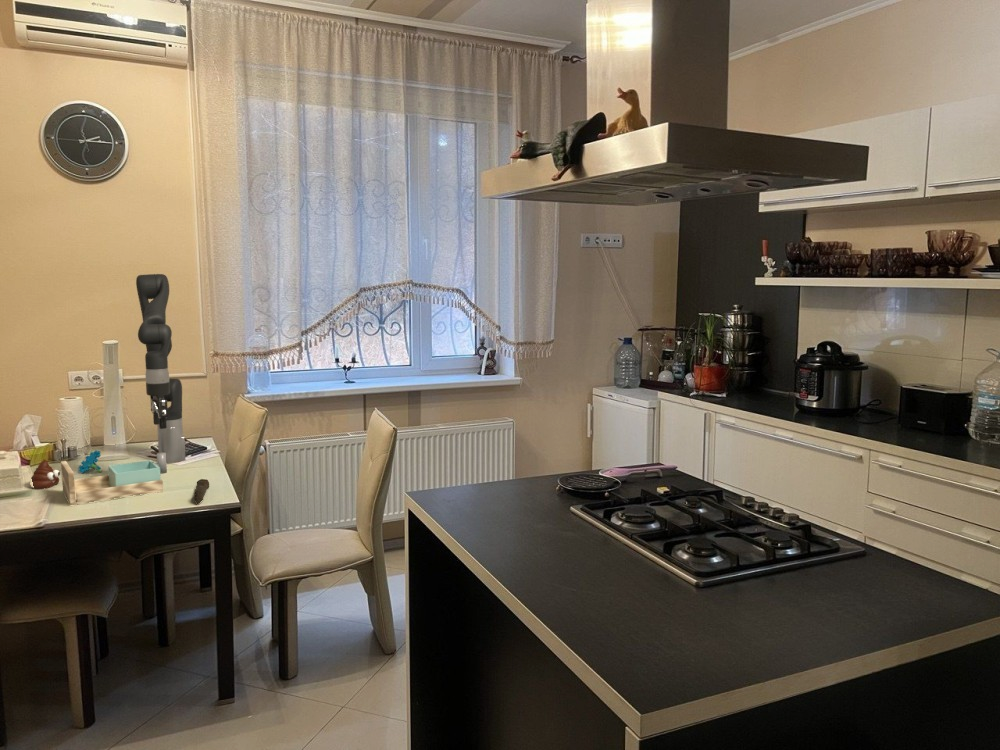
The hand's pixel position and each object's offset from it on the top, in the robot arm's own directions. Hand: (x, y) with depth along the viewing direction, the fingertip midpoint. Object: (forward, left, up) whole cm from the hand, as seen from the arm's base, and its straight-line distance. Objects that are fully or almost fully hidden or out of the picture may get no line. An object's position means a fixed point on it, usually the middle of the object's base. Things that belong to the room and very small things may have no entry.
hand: (160, 426), depth 263 cm
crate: (+7, 0, -20) cm, 21 cm away
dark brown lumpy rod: (-7, +22, -22) cm, 32 cm away
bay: (+16, 0, -21) cm, 27 cm away
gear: (+18, -34, -22) cm, 44 cm away
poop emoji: (+34, -22, -22) cm, 46 cm away
